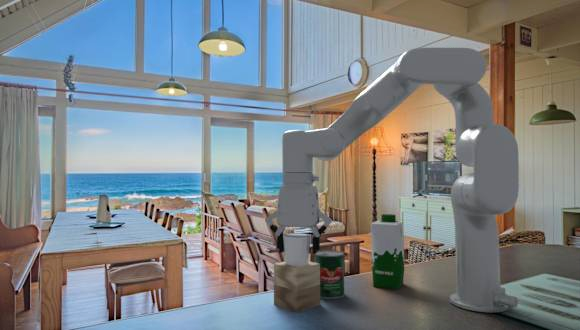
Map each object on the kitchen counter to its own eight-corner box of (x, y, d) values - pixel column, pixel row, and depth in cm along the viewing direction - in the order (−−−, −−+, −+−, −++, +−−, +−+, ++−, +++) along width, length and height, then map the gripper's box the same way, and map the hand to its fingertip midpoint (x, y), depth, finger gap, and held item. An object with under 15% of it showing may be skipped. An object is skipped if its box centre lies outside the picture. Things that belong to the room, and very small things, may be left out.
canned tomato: (332, 288, 104) (332, 249, 105) (350, 296, 97) (350, 253, 98) (308, 293, 100) (308, 251, 101) (325, 301, 93) (325, 256, 94)
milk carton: (406, 283, 109) (405, 214, 110) (400, 291, 101) (399, 217, 102) (377, 279, 113) (375, 213, 114) (368, 287, 105) (367, 216, 106)
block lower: (320, 305, 91) (320, 284, 91) (296, 313, 85) (296, 291, 85) (297, 298, 96) (297, 278, 97) (273, 305, 91) (273, 284, 91)
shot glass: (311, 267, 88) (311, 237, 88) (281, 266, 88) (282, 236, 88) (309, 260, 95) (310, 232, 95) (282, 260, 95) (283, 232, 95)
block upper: (320, 284, 91) (319, 263, 91) (296, 291, 85) (296, 269, 86) (297, 278, 97) (296, 259, 97) (273, 284, 91) (273, 263, 91)
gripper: (334, 180, 94) (335, 250, 93) (267, 180, 98) (268, 248, 97) (331, 180, 87) (332, 256, 86) (259, 180, 90) (259, 254, 89)
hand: (298, 252), depth 91 cm, fingers open, 7 cm apart
